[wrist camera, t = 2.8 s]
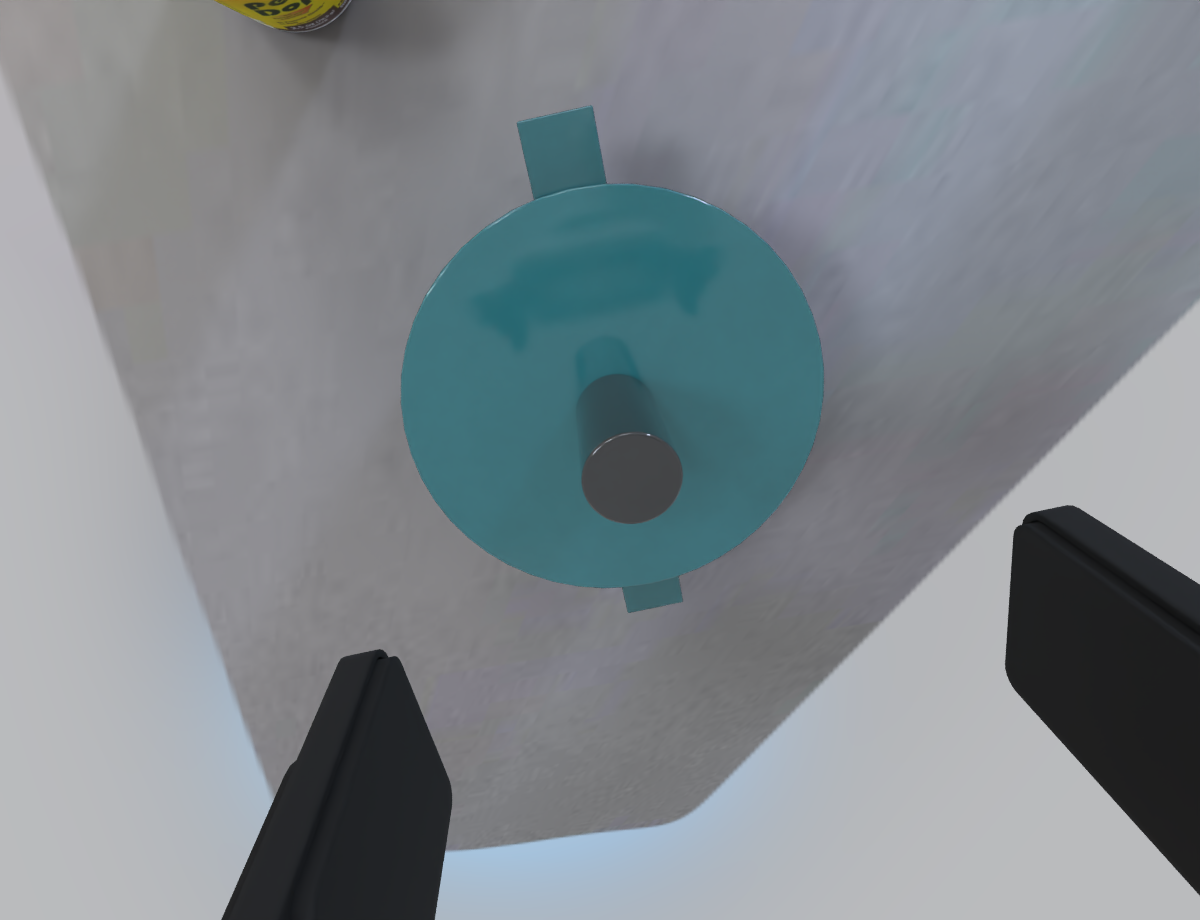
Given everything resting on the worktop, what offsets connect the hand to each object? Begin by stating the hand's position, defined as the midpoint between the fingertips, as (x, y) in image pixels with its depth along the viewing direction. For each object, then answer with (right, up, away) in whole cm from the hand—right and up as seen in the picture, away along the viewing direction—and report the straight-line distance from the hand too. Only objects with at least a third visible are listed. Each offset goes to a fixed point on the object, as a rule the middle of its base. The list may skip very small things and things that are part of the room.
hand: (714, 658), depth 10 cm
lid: (-1, +5, +14) cm, 15 cm away
